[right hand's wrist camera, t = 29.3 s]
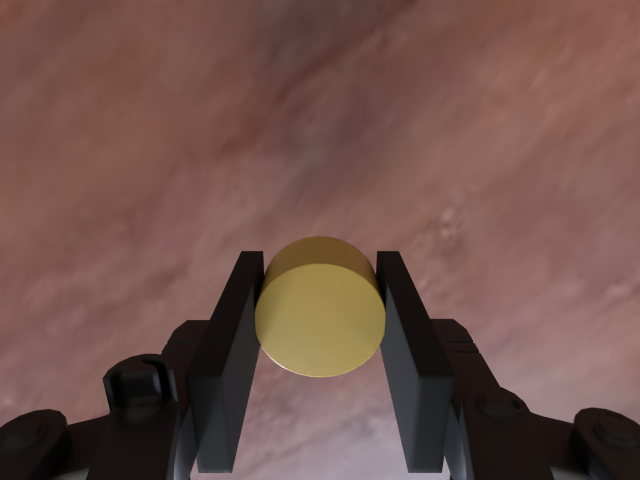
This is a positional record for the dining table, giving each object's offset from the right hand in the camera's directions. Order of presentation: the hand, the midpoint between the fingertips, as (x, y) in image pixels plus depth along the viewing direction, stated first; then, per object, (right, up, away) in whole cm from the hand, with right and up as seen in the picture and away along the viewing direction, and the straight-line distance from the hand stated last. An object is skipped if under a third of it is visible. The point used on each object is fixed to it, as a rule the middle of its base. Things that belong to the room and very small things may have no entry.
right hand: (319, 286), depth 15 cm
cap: (0, -1, -2) cm, 2 cm away
